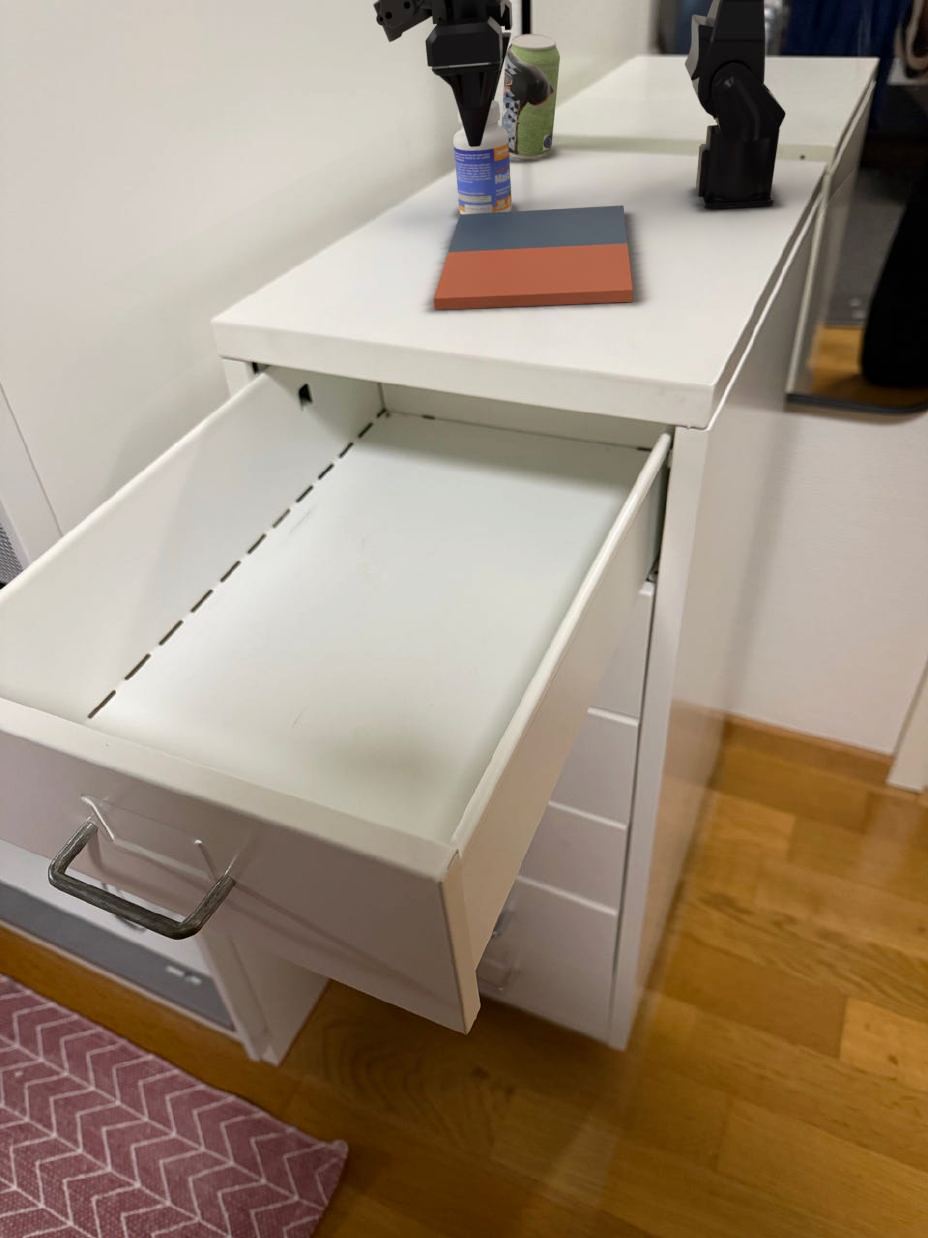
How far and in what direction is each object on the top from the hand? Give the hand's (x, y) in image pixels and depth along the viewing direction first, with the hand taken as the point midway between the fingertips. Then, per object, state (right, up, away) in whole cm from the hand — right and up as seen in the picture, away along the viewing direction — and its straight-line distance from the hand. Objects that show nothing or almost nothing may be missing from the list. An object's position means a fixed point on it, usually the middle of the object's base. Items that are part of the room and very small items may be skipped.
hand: (479, 133), depth 85 cm
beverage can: (+6, +8, +19) cm, 22 cm away
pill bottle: (+1, -6, +5) cm, 7 cm away
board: (+5, -15, -6) cm, 17 cm away
